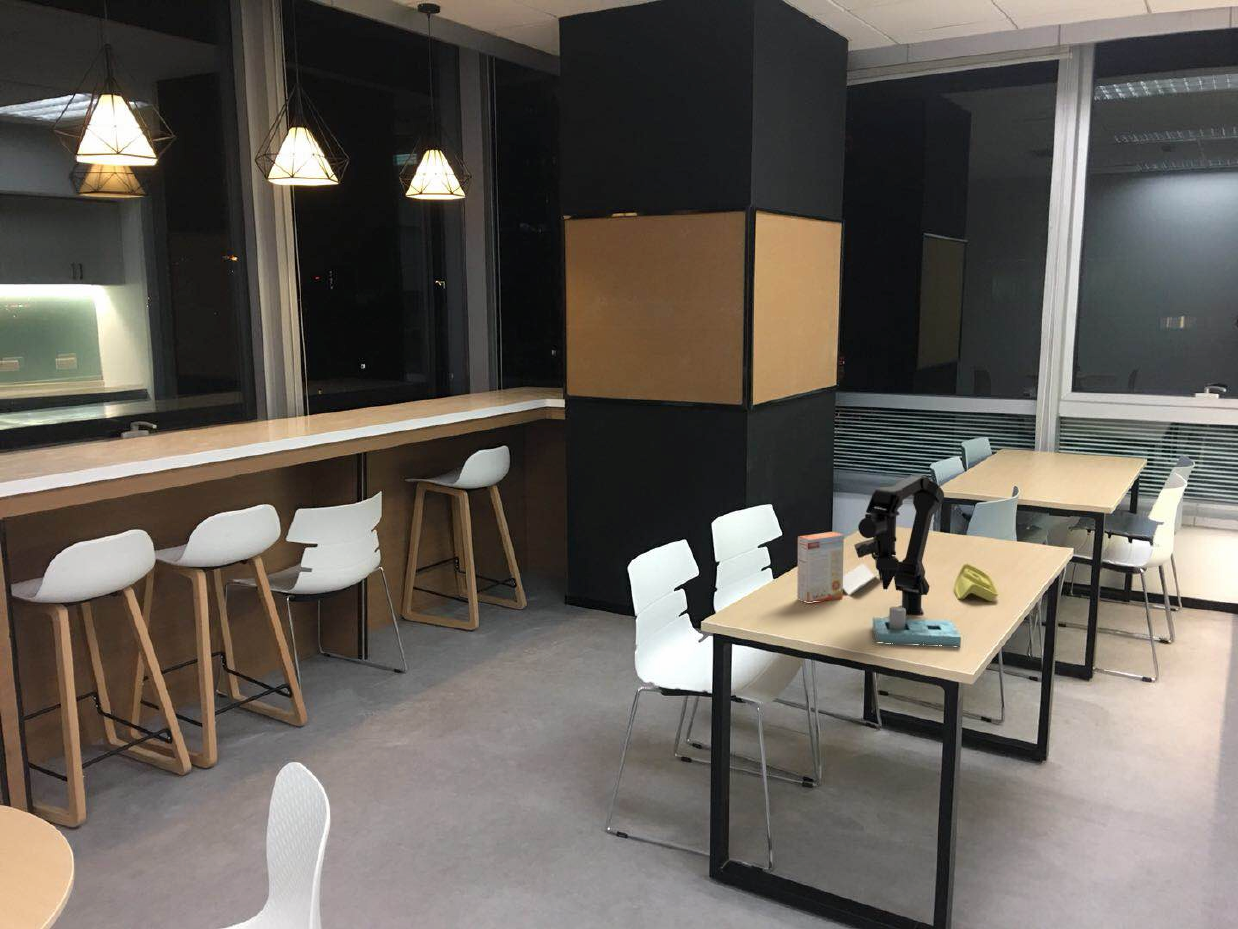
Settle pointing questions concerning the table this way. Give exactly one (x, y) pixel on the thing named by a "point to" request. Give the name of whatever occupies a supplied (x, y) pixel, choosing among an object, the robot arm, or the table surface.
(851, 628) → the table surface
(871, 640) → the table surface
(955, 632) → the plate
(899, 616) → the grey cylinder
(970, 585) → the plastic component
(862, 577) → the z bracket
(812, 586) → the cracker box
